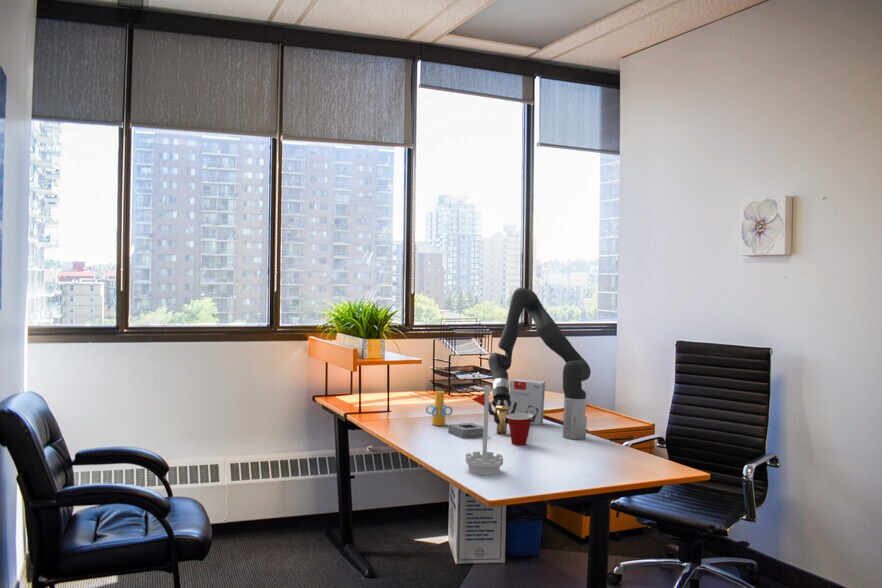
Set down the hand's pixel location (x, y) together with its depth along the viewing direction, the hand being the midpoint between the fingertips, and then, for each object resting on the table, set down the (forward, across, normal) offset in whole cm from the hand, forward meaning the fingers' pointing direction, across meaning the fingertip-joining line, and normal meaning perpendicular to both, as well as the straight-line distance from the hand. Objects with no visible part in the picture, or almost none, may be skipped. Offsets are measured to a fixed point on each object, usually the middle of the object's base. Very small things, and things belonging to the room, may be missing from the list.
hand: (502, 422), depth 318 cm
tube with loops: (-8, -27, +16) cm, 33 cm away
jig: (+5, -15, +2) cm, 16 cm away
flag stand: (+47, -12, -40) cm, 63 cm away
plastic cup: (+16, +5, -8) cm, 19 cm away
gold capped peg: (+2, 0, +5) cm, 6 cm away
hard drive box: (-17, +14, +25) cm, 33 cm away
